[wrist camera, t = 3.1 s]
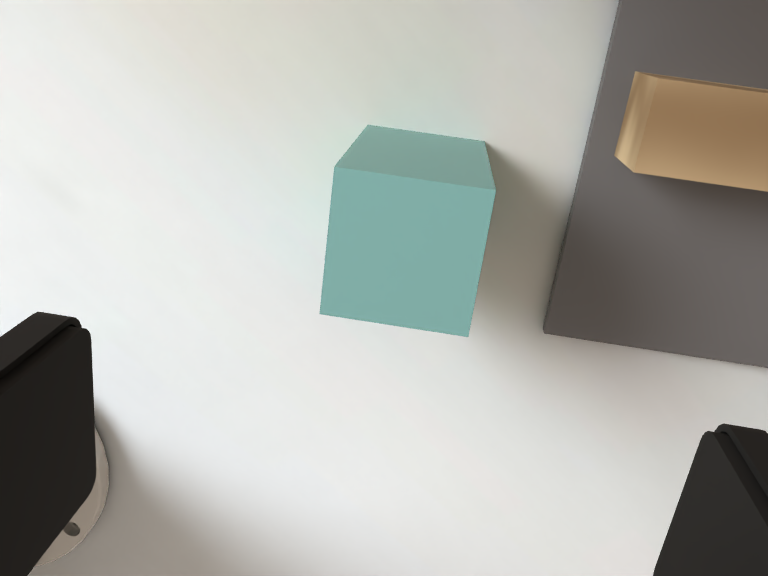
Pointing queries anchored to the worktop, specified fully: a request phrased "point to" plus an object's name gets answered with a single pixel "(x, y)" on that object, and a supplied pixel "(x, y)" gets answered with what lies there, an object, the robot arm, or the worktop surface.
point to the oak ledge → (696, 131)
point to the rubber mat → (667, 203)
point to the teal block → (408, 230)
